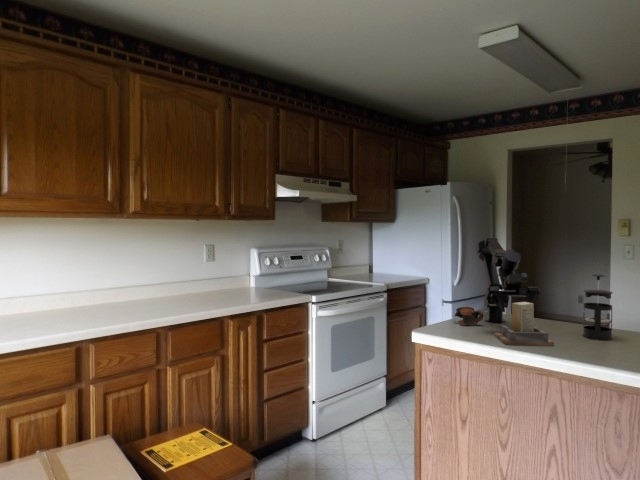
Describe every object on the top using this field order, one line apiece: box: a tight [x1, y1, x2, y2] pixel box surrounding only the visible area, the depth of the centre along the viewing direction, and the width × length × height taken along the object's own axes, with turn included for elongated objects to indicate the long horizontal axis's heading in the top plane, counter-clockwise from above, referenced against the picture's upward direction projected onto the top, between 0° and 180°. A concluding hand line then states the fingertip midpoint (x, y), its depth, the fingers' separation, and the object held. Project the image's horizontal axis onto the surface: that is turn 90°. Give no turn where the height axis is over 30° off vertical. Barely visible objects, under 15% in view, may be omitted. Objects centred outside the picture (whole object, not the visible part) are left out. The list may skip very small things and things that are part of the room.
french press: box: [582, 274, 613, 341], centre depth 167 cm, size 12×9×23 cm
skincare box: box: [511, 301, 535, 332], centre depth 162 cm, size 6×4×12 cm
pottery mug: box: [454, 306, 484, 327], centre depth 190 cm, size 12×10×8 cm
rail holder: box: [493, 324, 555, 347], centre depth 162 cm, size 13×16×4 cm
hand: (517, 312), depth 168 cm, fingers open, 9 cm apart
